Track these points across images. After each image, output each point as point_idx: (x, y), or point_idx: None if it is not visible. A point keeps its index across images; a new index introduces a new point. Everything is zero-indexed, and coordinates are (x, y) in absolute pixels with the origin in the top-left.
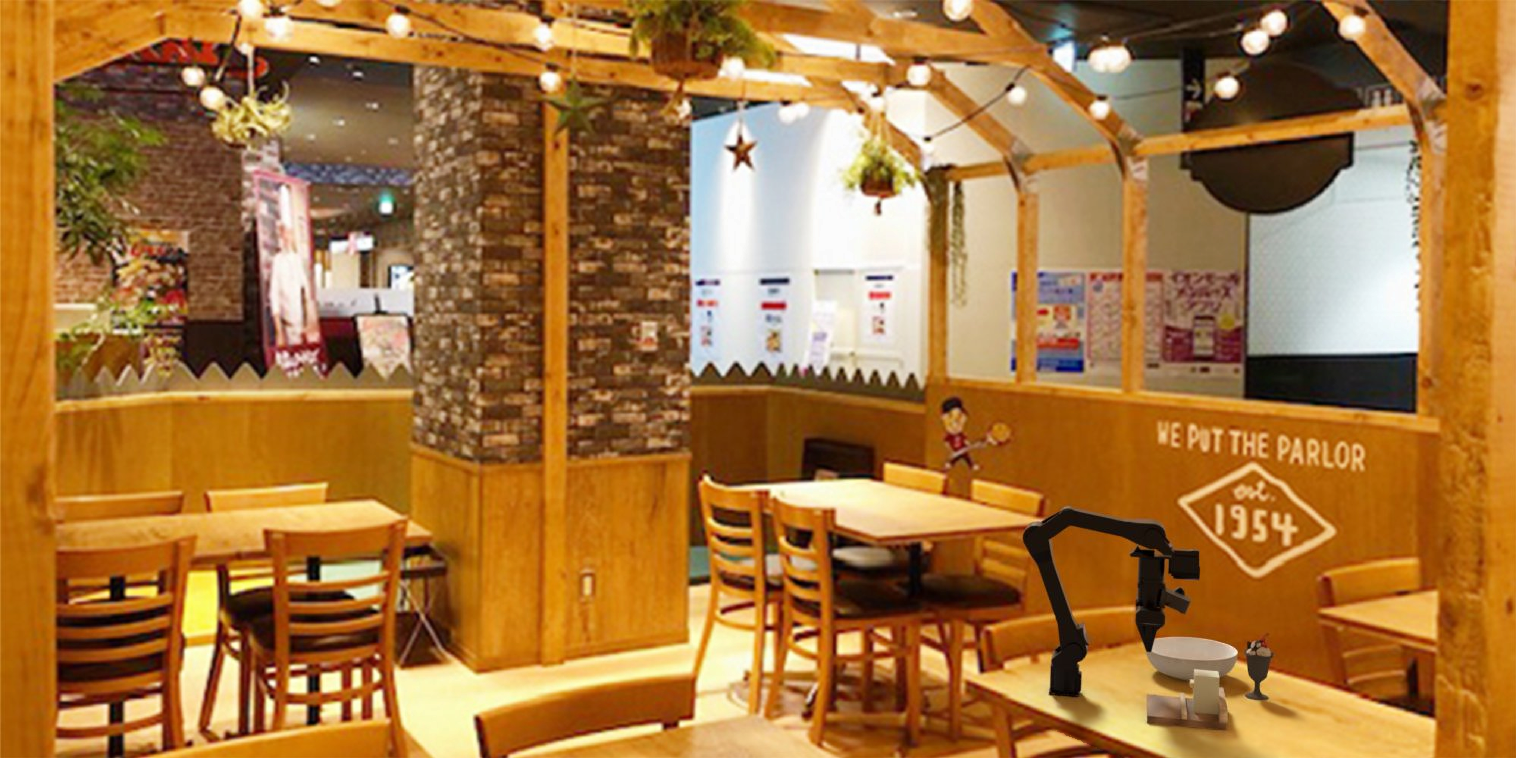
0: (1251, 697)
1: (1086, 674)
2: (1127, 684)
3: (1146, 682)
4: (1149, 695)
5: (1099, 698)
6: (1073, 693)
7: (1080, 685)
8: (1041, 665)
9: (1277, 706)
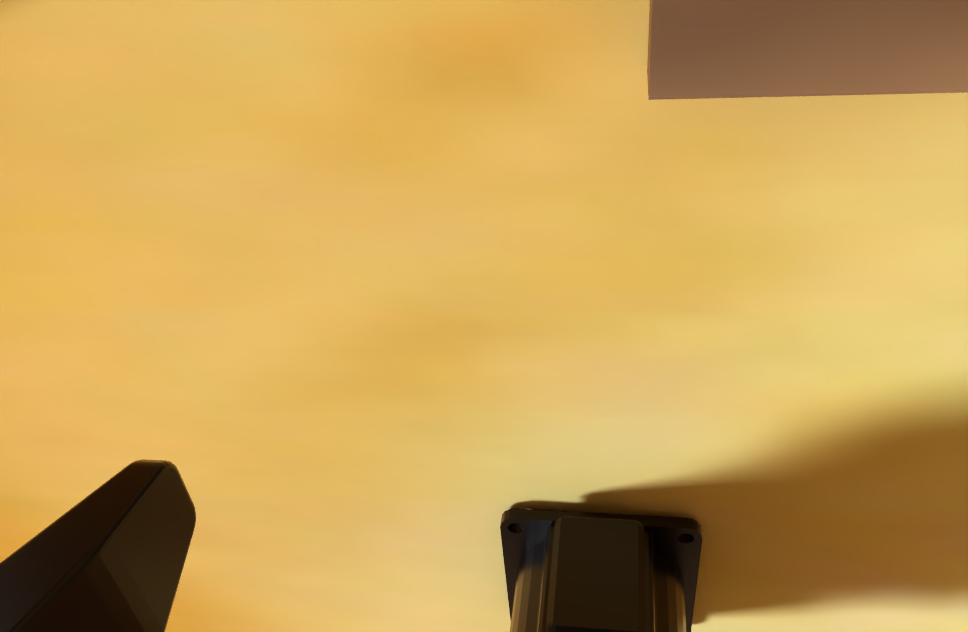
0: None
1: None
2: (198, 234)
3: (31, 87)
4: (694, 72)
5: (685, 408)
6: (681, 549)
7: (641, 561)
8: None
9: None
